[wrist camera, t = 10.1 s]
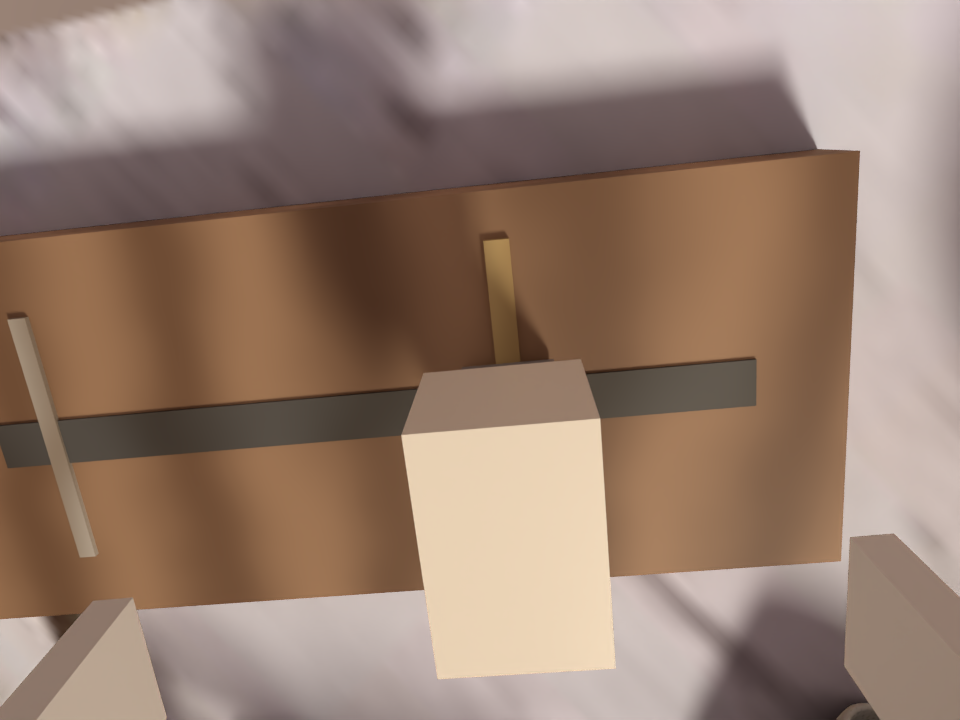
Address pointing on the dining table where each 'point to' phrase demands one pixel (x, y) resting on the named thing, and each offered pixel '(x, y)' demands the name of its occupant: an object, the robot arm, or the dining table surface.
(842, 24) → the dining table surface
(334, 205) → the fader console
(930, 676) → the robot arm
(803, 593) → the dining table surface
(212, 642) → the dining table surface
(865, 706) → the ceramic mug
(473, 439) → the fader knob
